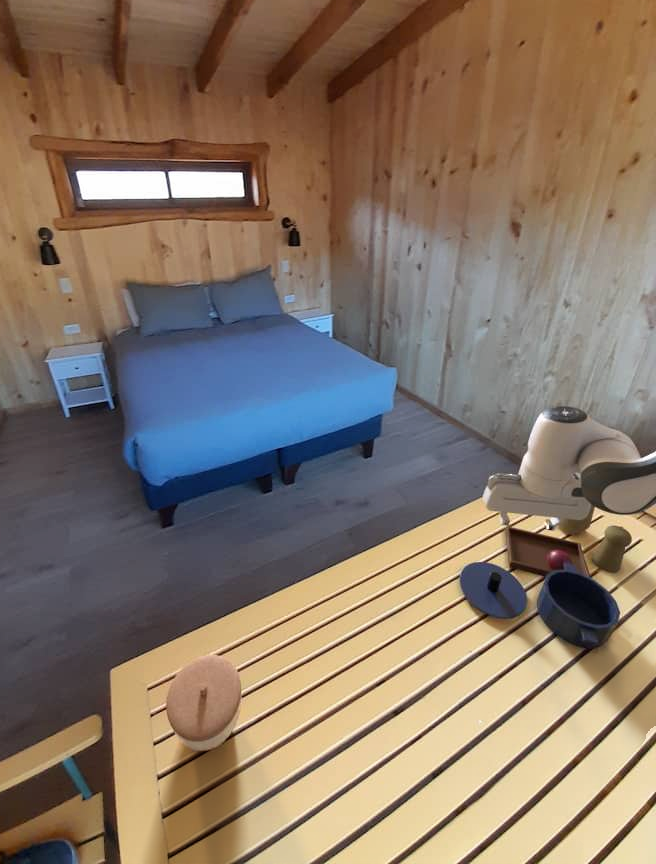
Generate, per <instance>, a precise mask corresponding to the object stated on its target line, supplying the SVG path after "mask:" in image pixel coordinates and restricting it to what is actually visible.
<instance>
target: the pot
mask: <svg viewBox="0 0 656 864" xmlns="http://www.w3.org/2000/svg"><path fill="white" fill-rule="evenodd" d="M563 567H564V570H554V571H552V572H550V573H549V574H547V576H546V577H544V581H543V583H542V586H541V588H540V591H539V593H538V596H537V598H536V610H537V613H538V615H539V617H540V619H541V621H542V622H543V623H544V625H545V626H546V628H547V629H548V630H550V631H551V632H552V633H553V634H554V635H556V637H558V638H559V639H560V640H562V641H564V642H565V643H567V644H569V645H572V646H575V647H577V648H580V649H585V650H595V649H599V648H601V647H603V646H604V645H606V643H607V642H608V641H609V640H610V638H611V636H612V635H613V633H614V631H615V629H616V627H617V625H618V623H619V622H620V621H619V620H620V615H621V610H620V608H619V605H618V602H617V601H616V599H615V598H614V596H612V594H611V593H610V591H609V590H608V589H607V588H606V587H604V586H602V585H601V584H600V583H599V582H598V581H597V580H596V579H594V578H592V577H591V578H590V577H588V576H586V575H584V574H582V573H579V572H578V570H577V567H576V565H574V564H570V563H566V562H564V564H563Z"/></svg>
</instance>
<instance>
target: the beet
mask: <svg viewBox="0 0 656 864" xmlns="http://www.w3.org/2000/svg"><path fill="white" fill-rule="evenodd" d="M547 562H548V565H549V566H550V567H551V569H553V570H564V567H563V564H564V562H566V563H570V564H573V563H572V559H571V558H570V556H569V555H568V554H567V553H565V552H563V551H561V550H554V551H551V552H550V553H549V554H548V556H547Z"/></svg>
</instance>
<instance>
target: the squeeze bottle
mask: <svg viewBox="0 0 656 864" xmlns="http://www.w3.org/2000/svg"><path fill="white" fill-rule="evenodd" d="M595 508H596V507H594V506H593V505H591V508H590V511H589V514H588V516H587V517H586V518H584V519H583V520H573V519H565V521H564V522H562V523H561V524H559V525H558V526H557V527H558V529H560V530H561V531H563V532H564V533H566V534H568V535H570V536H580V535H581V534H582V533H584V532H585V531H586V530H588V529H589V528H590V527H591V523H592V520H593V517H594V516H593V515H594V511H595Z"/></svg>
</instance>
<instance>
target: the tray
mask: <svg viewBox="0 0 656 864" xmlns="http://www.w3.org/2000/svg"><path fill="white" fill-rule="evenodd" d="M504 533H505V543H506V544H505V545H506V551H507V563H508V568H509V569H513V570H518V571H520V572H525V573H529V574H533V575H536V576H540V577H544V578H546V576H547V574H549V573H550V572H552V571H554V570H553V569H551V567H550V566H549V565H548V562H547V556H548V554H549V553H550V552H551V551H554V550H561V551H563V552H565V553H567V554H568V555H569V556H570V558H571V559H572V563H573V564H574V565H576V567H577V570H578V572H579V573H582V574H584V575H586V576H588V577H590V578H592V577H591V573H590V569H589V567H588V564H587V561H586V558H585V554H584V551H583V548H582V544H581V543H580V542H576V541H572V540H568V539H564V538H559V537H556V536H551V535H547V534H542V533H539V532H534V531H530V530H525V529H521V528H516V527H512V526H510V525H509V526H506V527H505V530H504Z"/></svg>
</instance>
